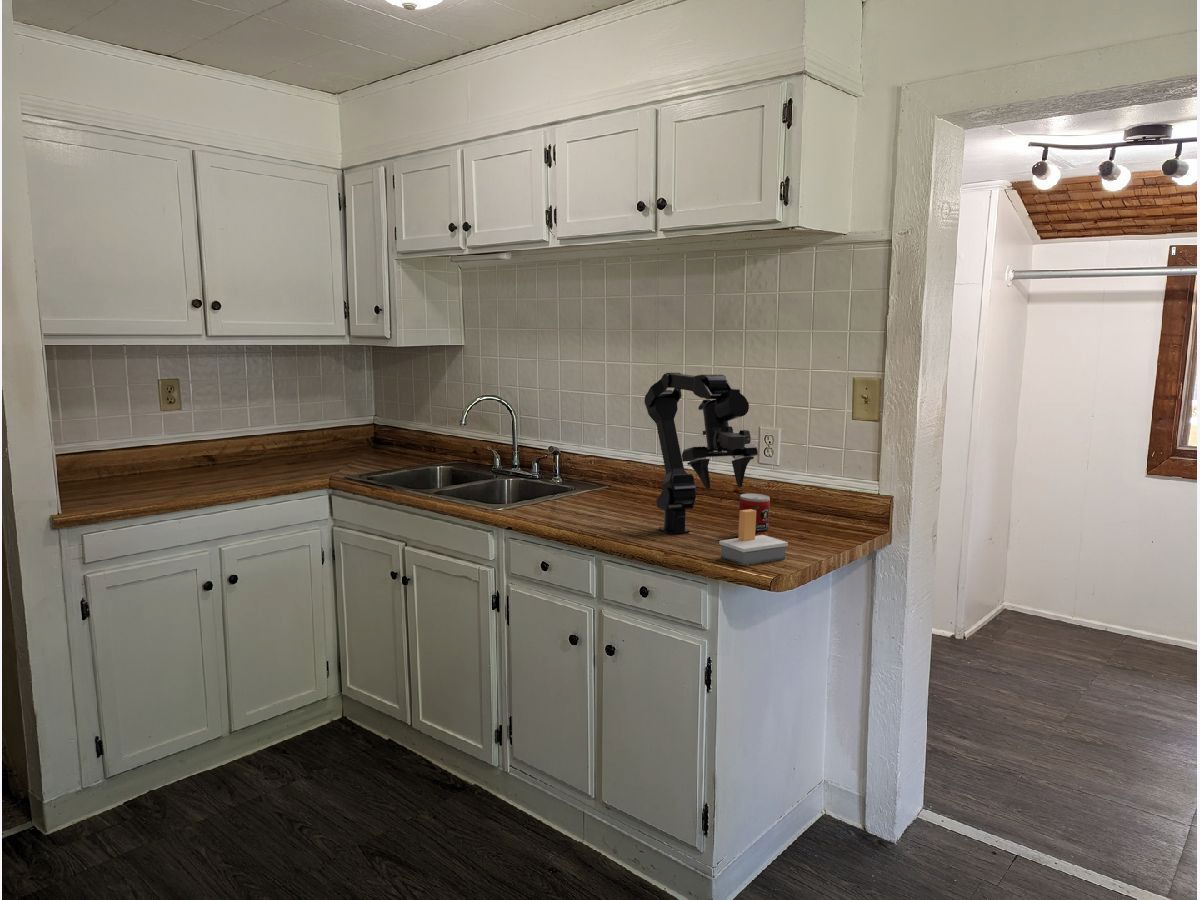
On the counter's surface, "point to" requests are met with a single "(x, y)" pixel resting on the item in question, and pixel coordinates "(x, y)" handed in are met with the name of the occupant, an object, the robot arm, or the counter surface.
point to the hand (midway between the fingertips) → (724, 488)
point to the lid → (751, 535)
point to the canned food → (757, 510)
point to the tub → (753, 555)
